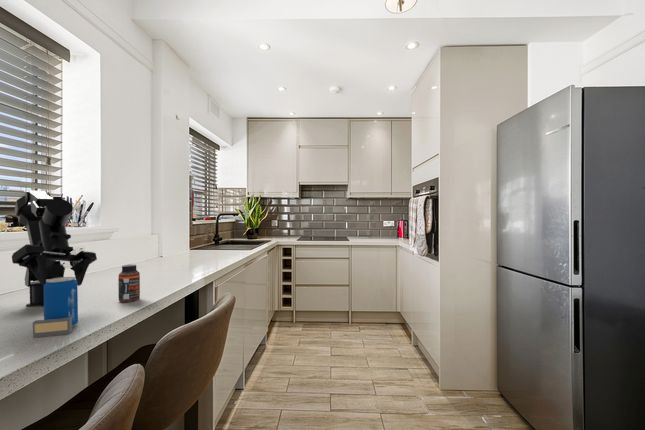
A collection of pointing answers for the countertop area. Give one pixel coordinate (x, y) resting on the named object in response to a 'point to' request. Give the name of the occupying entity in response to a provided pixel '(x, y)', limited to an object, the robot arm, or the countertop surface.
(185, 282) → the countertop surface
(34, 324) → the rail
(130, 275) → the supplement bottle
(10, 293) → the countertop surface
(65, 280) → the beverage can
